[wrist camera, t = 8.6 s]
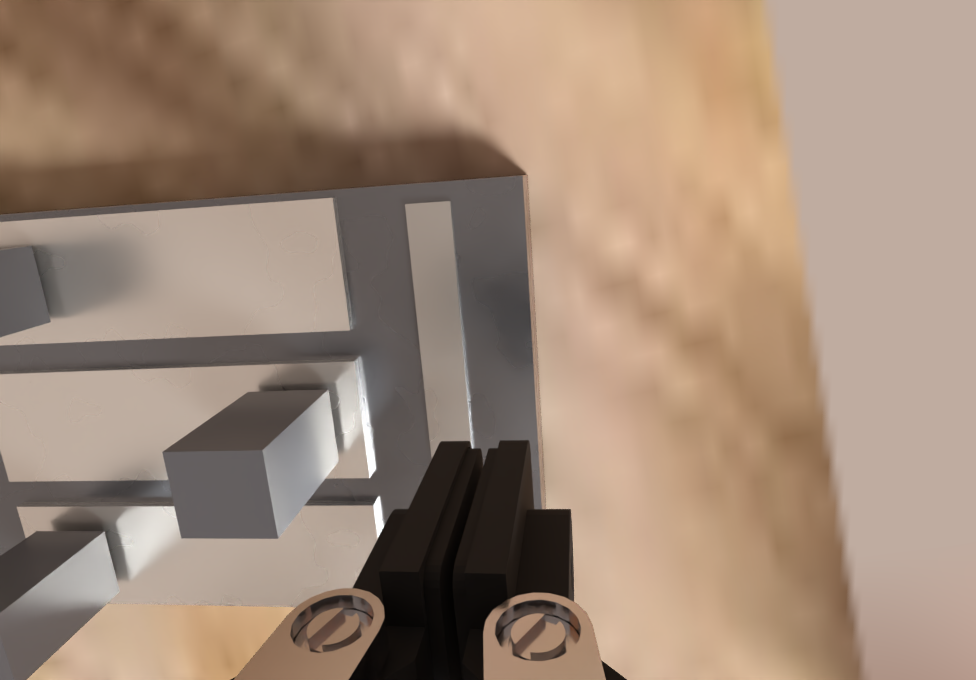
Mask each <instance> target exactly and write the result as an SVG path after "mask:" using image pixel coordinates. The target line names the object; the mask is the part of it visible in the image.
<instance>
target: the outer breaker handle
mask: <svg viewBox="0 0 976 680" xmlns="http://www.w3.org/2000/svg"><path fill="white" fill-rule="evenodd" d="M50 322H51V320H50V316H49V312H48V308H47V304H46V301H45V297H44V293H43V289H42V285H41V281H40V277H39V273H38V269H37V265H36V261H35V257H34V254H33V250H32V246H21V247H6V248H0V337H3V336H6V335H10V334H13V333H16V332H20V331H23V330H26V329H30V328H33V327H36V326H40V325H43V324H47V323H50Z"/></svg>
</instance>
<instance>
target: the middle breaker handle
mask: <svg viewBox="0 0 976 680" xmlns="http://www.w3.org/2000/svg"><path fill="white" fill-rule="evenodd" d="M162 453H163V458H164V462H165V467H166V471H167V476H168V480H169V485H170V489H171V494H172V498H173V503H174V507H175V512H176V516H177V521H178V526H179V530H180V535H181V538H206V539H278V538H279V537H280V536H281V535H282V533H283V532H284V531H285V529H286V528H287V527H288V526H289V524H290V523H291V522H292V520H293V519H294V518H295V517H296V515H297V514H298V513H299V512H300V510H301V509H302V508H303V506H304V505H305V504H306V503H307V501H308V500H309V499H310V497H311V496H312V495H313V494H314V492H315V491H316V490H317V488H318V487H319V486H320V485H321V483H322V482H323V481H324V480H325V478H326V477H327V476H328V474H329V473H330V472H331V471H332V469H333V468H334V467H335V465H336V464H337V463H338V462H339V459H338V452H337V445H336V438H335V431H334V424H333V418H332V411H331V404H330V397H329V390H328V389H325V390H292V391H259V392H247V393H246V394H244V395H243V396H241V397H240V398H239V399H237V400H236V401H234V402H233V403H231V404H230V405H229V406H227V407H226V408H224V409H223V410H221V411H220V412H219V413H217V414H216V415H214V416H213V417H211V418H210V419H209V420H207V421H206V422H204V423H203V424H201V425H200V426H199V427H197V428H196V429H194V430H193V431H191V432H190V433H189V434H187V435H186V436H184V437H183V438H181V439H180V440H179V441H177V442H176V443H174V444H173V445H171V446H170V447H169V448H167V449H166V450H164V451H163V452H162Z"/></svg>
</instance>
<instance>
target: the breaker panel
mask: <svg viewBox="0 0 976 680" xmlns="http://www.w3.org/2000/svg"><path fill="white" fill-rule="evenodd" d="M21 246H32V250H33V254H34V257H35V261H36V265H37V269H38V273H39V277H40V281H41V285H42V289H43V293H44V297H45V301H46V304H47V308H48V312H49V316H50V320H51V322H50V323H47V324H43V325H40V326H36V327H33V328H30V329H26V330H23V331H20V332H16V333H13V334H10V335H6V336H3V337H0V556H1V555H2V554H4V553H5V552H7V551H8V550H10V549H11V548H13V547H14V546H16V545H17V544H19V543H20V542H21V541H23V540H24V539H26V538H27V537H29V536H30V535H32V534H33V533H35V532H36V531H104V532H105V536H106V540H107V544H108V547H109V551H110V555H111V559H112V563H113V567H114V571H115V575H116V579H117V583H118V587H119V591H120V592H119V593H118V594H116V595H115V596H114V597H113V598H112V599H111V600H110V601H109V602H108V603H111V604H163V605H215V606H267V607H297V606H298V605H299V604H301V603H303V602H304V601H306V600H307V599H309V598H311V597H313V596H315V595H318V594H321V593H323V592H326V591H330V590H336V589H341V588H353V586H354V584H355V582H356V580H357V578H358V576H359V574H360V572H361V570H362V568H363V566H364V564H365V562H366V561H367V559H368V557H369V555H370V553H371V551H372V549H373V547H374V545H375V543H376V541H377V539H378V537H379V535H380V533H381V531H382V529H383V528H384V526H385V524H386V522H387V520H388V518H389V516H390V514H391V513H392V511H393V510H394V509H409V506H410V504H411V502H412V500H413V498H414V496H415V494H416V492H417V489H418V487H419V485H420V483H421V481H422V479H423V477H424V475H425V473H426V470H427V468H428V466H429V464H430V462H431V460H432V458H433V456H434V454H435V451H436V449H437V447H438V445H439V443H440V442H441V441H470V443H471V446H472V448H481V451H482V457H483V465H484V462H485V459H486V455H487V452H488V449H489V448H498V445H499V442H500V440H529V442H530V449H531V464H532V480H533V496H534V509H546V497H545V480H544V462H543V444H542V426H541V408H540V390H539V372H538V354H537V336H536V318H535V301H534V283H533V265H532V247H531V229H530V211H529V193H528V175H517V176H504V177H490V178H477V179H464V180H450V181H437V182H424V183H410V184H397V185H384V186H370V187H357V188H344V189H331V190H317V191H304V192H291V193H277V194H264V195H251V196H237V197H224V198H211V199H197V200H184V201H171V202H158V203H144V204H131V205H118V206H104V207H91V208H78V209H64V210H51V211H38V212H24V213H11V214H0V248H6V247H21ZM325 389H328V390H329V397H330V404H331V411H332V418H333V424H334V431H335V438H336V445H337V452H338V459H339V462H338V463H337V464H336V465H335V467H334V468H333V469H332V471H331V472H330V473H329V474H328V476H327V477H326V478H325V480H324V481H323V482H322V483H321V485H320V486H319V487H318V488H317V490H316V491H315V492H314V494H313V495H312V496H311V497H310V499H309V500H308V501H307V503H306V504H305V505H304V506H303V508H302V509H301V510H300V512H299V513H298V514H297V515H296V517H295V518H294V519H293V520H292V522H291V523H290V524H289V526H288V527H287V528H286V529H285V531H284V532H283V533H282V535H281V536H280V537H279V538H278V539H206V538H181V535H180V530H179V526H178V521H177V516H176V512H175V507H174V503H173V498H172V494H171V489H170V485H169V480H168V476H167V471H166V467H165V462H164V458H163V453H162V452H163V451H164V450H166V449H167V448H169V447H170V446H171V445H173V444H174V443H176V442H177V441H179V440H180V439H181V438H183V437H184V436H186V435H187V434H189V433H190V432H191V431H193V430H194V429H196V428H197V427H199V426H200V425H201V424H203V423H204V422H206V421H207V420H209V419H210V418H211V417H213V416H214V415H216V414H217V413H219V412H220V411H221V410H223V409H224V408H226V407H227V406H229V405H230V404H231V403H233V402H234V401H236V400H237V399H239V398H240V397H241V396H243V395H244V394H246V393H247V392H259V391H292V390H325Z"/></svg>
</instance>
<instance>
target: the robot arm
mask: <svg viewBox="0 0 976 680" xmlns="http://www.w3.org/2000/svg"><path fill="white" fill-rule="evenodd" d="M231 680H627V679H625V678H624V677H623V676H621V675H620V674H619V673H617V672H616V671H615V670H613V669H612V668H611V667H609V666H608V665H607V664H605V663H604V662H603V661H602V660H601V658H600V654H599V650H598V645H597V641H596V637H595V633H594V629H593V625H592V623H591V621H590V619H589V617H588V614H587V613H586V612H585V611H584V610H583V609H582V608H581V607H580V606H579V605H578V604H577V603H575V602H574V569H573V542H572V521H571V509H534V496H533V480H532V464H531V449H530V442H529V440H500V442H499V445H498V448H489V449H488V452H487V455H486V459H485V462H484V465H483V457H482V451H481V448H472V446H471V443H470V441H441V442H440V443H439V445H438V447H437V449H436V451H435V454H434V456H433V458H432V460H431V462H430V464H429V466H428V468H427V470H426V473H425V475H424V477H423V479H422V481H421V483H420V485H419V487H418V489H417V492H416V494H415V496H414V498H413V500H412V502H411V504H410V506H409V509H394V510H393V511H392V513H391V514H390V516H389V518H388V520H387V522H386V524H385V526H384V528H383V529H382V531H381V533H380V535H379V537H378V539H377V541H376V543H375V545H374V547H373V549H372V551H371V553H370V555H369V557H368V559H367V561H366V562H365V564H364V566H363V568H362V570H361V572H360V574H359V576H358V578H357V580H356V582H355V584H354V586H353V588H341V589H336V590H330V591H326V592H323V593H321V594H318V595H315V596H313V597H311V598H309V599H307V600H306V601H304V602H303V603H301V604H299V605H298V606H297V607H296V608H295V609H294V610H292V611H291V612H290V613H289V614H288V615H287V616H286V618H285V619H284V620H283V621H282V622H281V624H280V625H279V626H278V627H277V628H276V630H275V631H274V632H273V633H272V634H271V636H270V637H269V638H268V639H267V640H266V642H265V643H264V644H263V645H262V646H261V648H260V649H259V650H258V651H257V652H256V654H255V655H254V656H253V657H252V658H251V659H250V661H249V662H248V663H247V664H246V665H245V667H244V668H243V669H242V670H241V671H240V673H239V674H238V675H237V676H236V677H235V678H233V679H231Z"/></svg>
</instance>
